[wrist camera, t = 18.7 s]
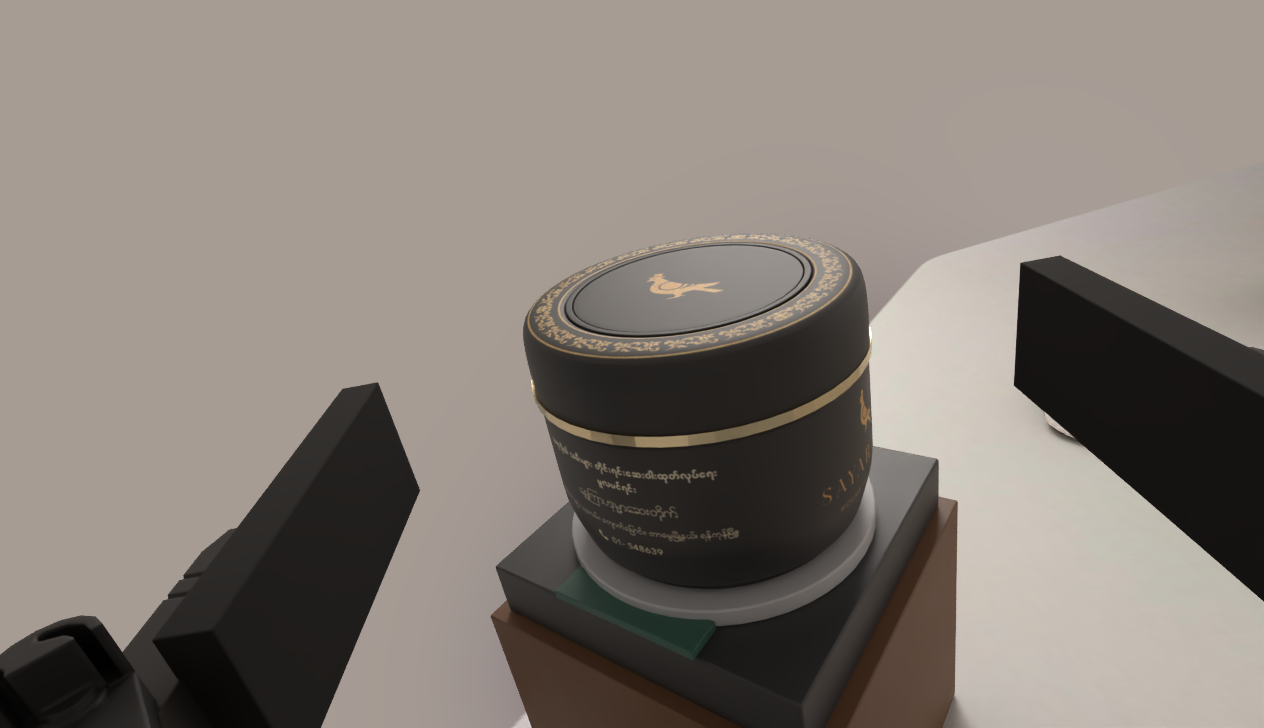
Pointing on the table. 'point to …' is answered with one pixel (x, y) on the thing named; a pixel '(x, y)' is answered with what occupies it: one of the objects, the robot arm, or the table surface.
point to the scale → (746, 626)
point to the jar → (709, 403)
